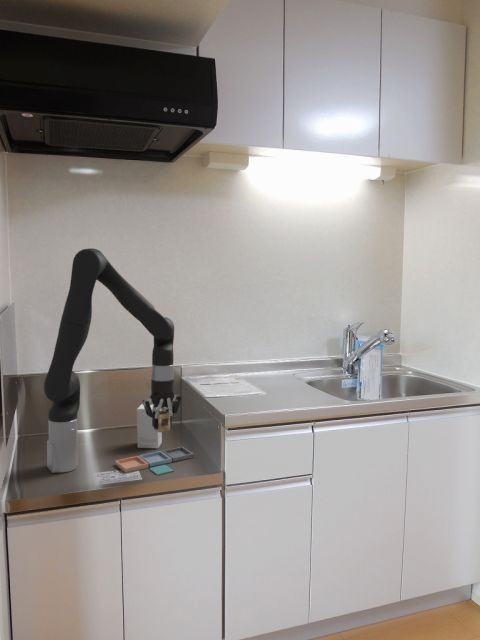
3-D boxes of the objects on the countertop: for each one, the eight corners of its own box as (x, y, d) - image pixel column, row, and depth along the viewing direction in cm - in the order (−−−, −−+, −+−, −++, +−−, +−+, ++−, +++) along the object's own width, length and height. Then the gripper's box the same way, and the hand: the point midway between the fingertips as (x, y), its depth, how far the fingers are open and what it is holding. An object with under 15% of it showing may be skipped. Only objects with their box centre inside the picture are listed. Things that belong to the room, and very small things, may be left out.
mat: (157, 475, 173) (157, 474, 173) (149, 469, 178) (149, 468, 178) (173, 471, 177) (173, 470, 177) (165, 465, 182) (165, 464, 182)
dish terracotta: (125, 473, 174) (125, 468, 174) (115, 464, 181) (115, 460, 181) (148, 467, 179) (148, 463, 179) (137, 459, 186) (137, 455, 186)
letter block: (159, 432, 173) (159, 414, 172) (153, 429, 176) (154, 411, 176) (170, 430, 176) (170, 412, 175) (164, 427, 179) (164, 409, 178)
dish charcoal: (172, 462, 185) (173, 458, 185) (161, 454, 192) (161, 450, 192) (193, 457, 190) (193, 453, 190) (182, 450, 197) (182, 446, 196)
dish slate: (149, 467, 180) (149, 463, 179) (139, 459, 186) (139, 455, 186) (171, 462, 185) (171, 458, 184) (160, 454, 191) (160, 451, 191)
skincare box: (162, 443, 203) (162, 404, 202) (157, 449, 197) (158, 409, 195) (141, 442, 204) (141, 403, 202) (136, 448, 198) (136, 408, 196)
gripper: (148, 382, 167) (147, 434, 169) (186, 377, 175) (185, 426, 177) (138, 377, 173) (137, 427, 175) (175, 373, 181) (175, 421, 183)
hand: (162, 427), depth 176 cm, fingers closed on letter block, 4 cm apart
